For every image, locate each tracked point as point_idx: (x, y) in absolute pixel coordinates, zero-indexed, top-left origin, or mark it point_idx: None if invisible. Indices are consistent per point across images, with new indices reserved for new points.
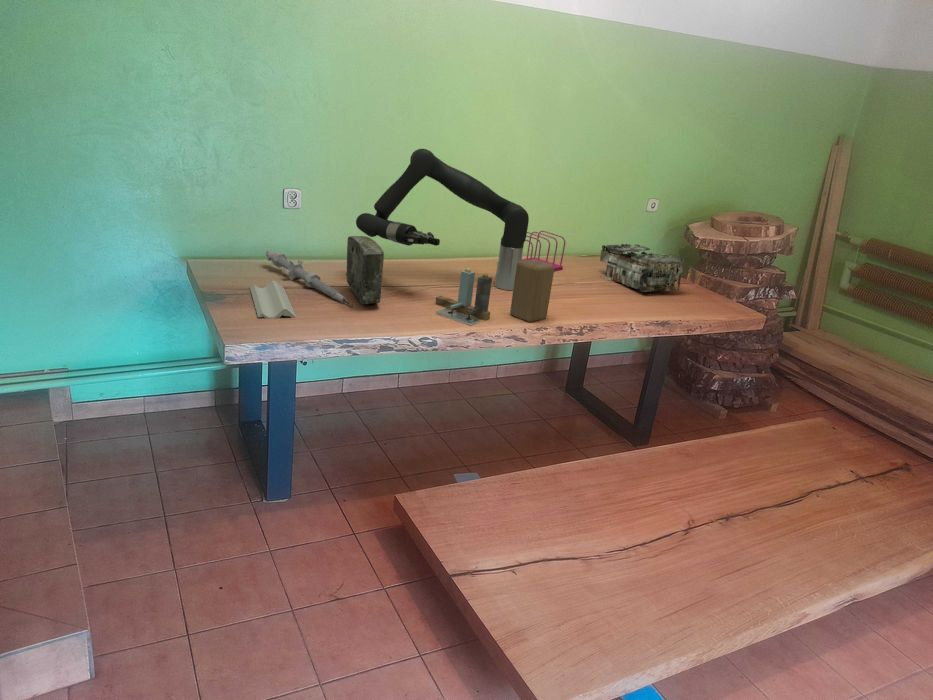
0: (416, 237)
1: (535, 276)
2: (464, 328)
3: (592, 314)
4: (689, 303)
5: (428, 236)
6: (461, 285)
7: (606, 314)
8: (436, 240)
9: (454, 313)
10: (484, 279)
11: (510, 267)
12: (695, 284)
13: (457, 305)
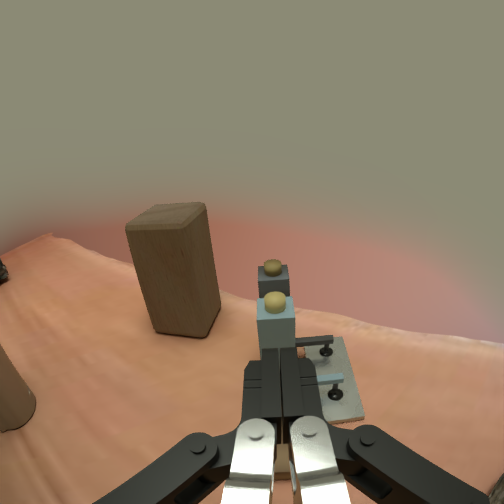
0: (431, 463)
1: (207, 219)
2: (365, 336)
3: (108, 283)
4: (24, 257)
5: (272, 447)
6: None
7: (98, 276)
8: (296, 354)
9: (329, 387)
10: (287, 269)
11: (5, 356)
12: None
13: (319, 376)
